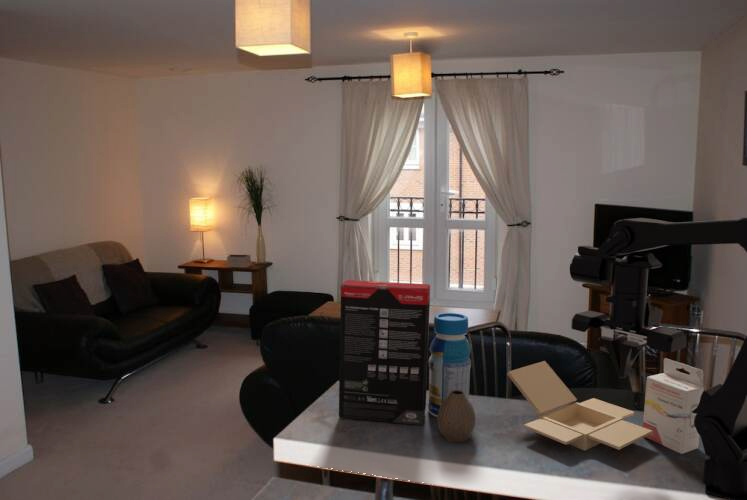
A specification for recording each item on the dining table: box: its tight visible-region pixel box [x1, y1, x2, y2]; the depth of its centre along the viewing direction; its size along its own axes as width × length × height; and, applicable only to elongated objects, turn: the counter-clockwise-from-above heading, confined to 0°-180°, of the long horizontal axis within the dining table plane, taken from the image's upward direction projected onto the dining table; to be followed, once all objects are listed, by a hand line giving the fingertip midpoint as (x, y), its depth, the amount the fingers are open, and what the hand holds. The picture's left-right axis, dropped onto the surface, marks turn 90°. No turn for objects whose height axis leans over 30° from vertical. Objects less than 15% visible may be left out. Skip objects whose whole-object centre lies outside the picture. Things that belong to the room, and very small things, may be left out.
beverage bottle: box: [427, 312, 472, 419], centre depth 127 cm, size 8×8×20 cm
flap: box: [506, 360, 578, 416], centre depth 126 cm, size 1×12×10 cm
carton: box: [523, 397, 652, 452], centre depth 117 cm, size 16×22×3 cm
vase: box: [437, 390, 476, 443], centre depth 116 cm, size 7×7×9 cm
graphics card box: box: [338, 279, 431, 426], centre depth 124 cm, size 17×7×27 cm, turn 82°
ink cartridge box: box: [642, 357, 705, 455], centre depth 115 cm, size 9×5×15 cm, turn 29°
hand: (622, 377), depth 112 cm, fingers closed
